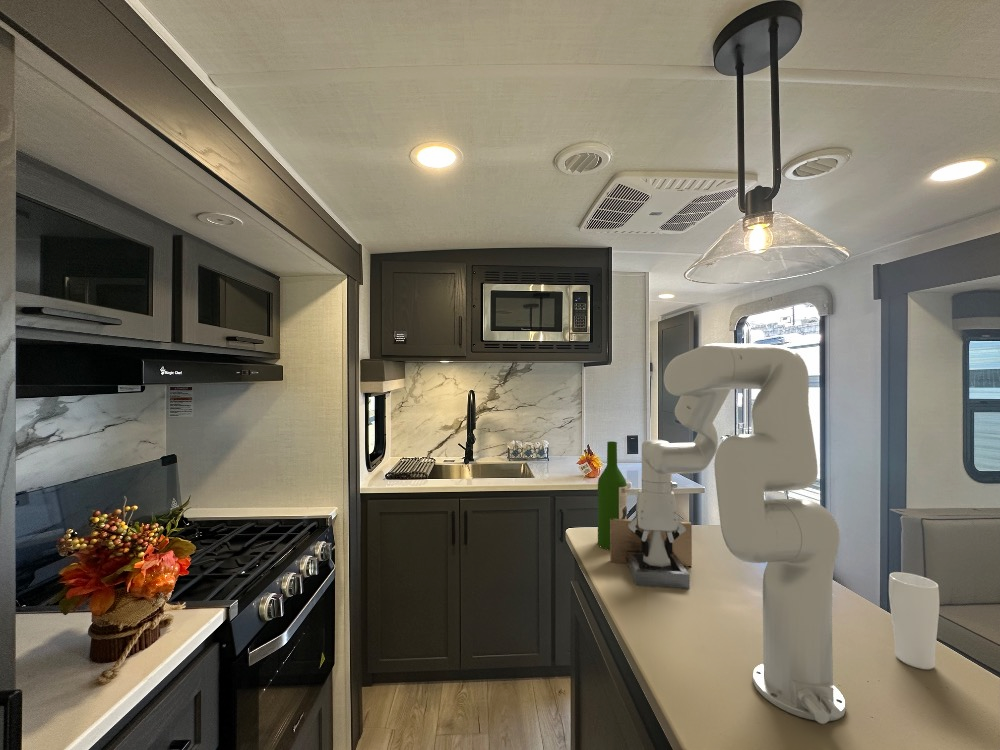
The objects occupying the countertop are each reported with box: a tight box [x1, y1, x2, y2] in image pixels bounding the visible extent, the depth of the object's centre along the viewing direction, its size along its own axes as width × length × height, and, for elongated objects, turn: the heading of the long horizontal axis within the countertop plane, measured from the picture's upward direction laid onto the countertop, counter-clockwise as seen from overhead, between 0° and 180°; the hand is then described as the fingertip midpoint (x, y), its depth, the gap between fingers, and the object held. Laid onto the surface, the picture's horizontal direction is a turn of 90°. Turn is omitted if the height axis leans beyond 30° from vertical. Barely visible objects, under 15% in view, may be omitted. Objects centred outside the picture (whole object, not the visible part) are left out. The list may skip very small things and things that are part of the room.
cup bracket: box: [609, 518, 693, 589], centre depth 118 cm, size 15×22×12 cm
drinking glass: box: [888, 571, 940, 670], centre depth 81 cm, size 7×7×15 cm
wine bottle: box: [597, 441, 628, 550], centre depth 139 cm, size 9×9×32 cm
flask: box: [643, 531, 671, 567], centre depth 117 cm, size 7×7×10 cm
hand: (656, 554), depth 117 cm, fingers closed on flask, 4 cm apart
